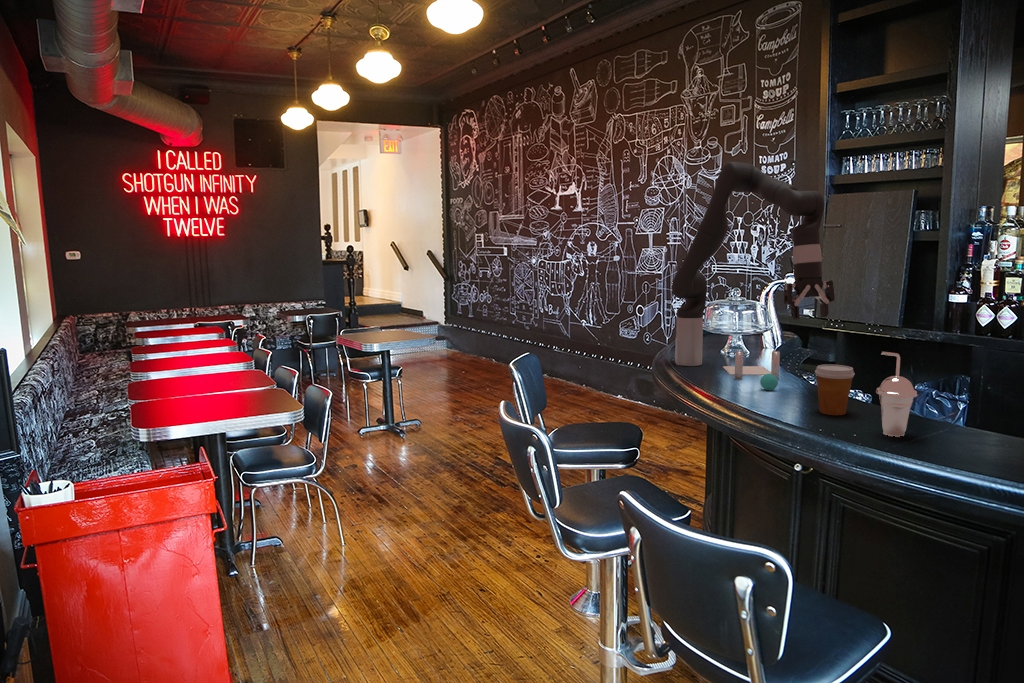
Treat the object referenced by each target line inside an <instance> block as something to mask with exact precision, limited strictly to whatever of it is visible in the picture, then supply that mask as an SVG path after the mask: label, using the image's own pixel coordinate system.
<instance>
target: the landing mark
mask: <svg viewBox="0 0 1024 683" xmlns="http://www.w3.org/2000/svg"><path fill="white" fill-rule="evenodd" d="M722 368H723V369H724V370H725V371H726V372H727V374H729V375H730V376H731V375H732V376H735V365H734V366H733V365H726V366H725V365H724V366H722ZM765 374H771V370H769V369H768V368H766V367H765V366H762V365H761V366H759V365H758V366H756V365H755V366H753V365H750V366H749V365H748V366H746V365H743V374H742V376H746V375H747V376H748V375H749V376H764V375H765Z"/></svg>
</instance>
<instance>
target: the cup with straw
mask: <svg viewBox="0 0 1024 683" xmlns="http://www.w3.org/2000/svg"><path fill="white" fill-rule="evenodd" d="M879 354H880V355H885V356H889V357H890V356H891V357H893V356H894V357H896V367H895V375H891V376H888V377H886V378H885V379H884V380H883V381H882V382H881V384H880V386H879V387H877V388H876V390H875V393H876V394H877V395H878V396H879V403H880V408H881V409H880V410H881V412H880V413H881V425H882V426H881V427H882V430H883V432H882V434H883V435H885V436H887V435H888V437H893V436H895V438H901V437H900V436H903V437H905V436H906V435H905V432H906V430H907V427H908V421H909V417H910V416H909V415H910V412H911V411H910V410H911V407H912V405H913V402H914V398H916V397H918V391H917V390H916V389H914V386H913V383H912V382H911V381H910V380H909V379H907V378H905V377H904V376H900V371H901V370H900V369H901V356H900V354H899V353H897V352H889V351H881V350H880V351H879ZM904 435H905V436H904Z"/></svg>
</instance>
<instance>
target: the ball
mask: <svg viewBox="0 0 1024 683" xmlns="http://www.w3.org/2000/svg"><path fill="white" fill-rule="evenodd" d="M759 383H760V386H761V388H762V389H763V390H767V391H772V390H775V389H776V388H777V387H778V385H779V380H778V379H777V378H776V376H774V375H773V374H765V375H761V378H760V382H759Z"/></svg>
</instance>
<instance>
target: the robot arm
mask: <svg viewBox="0 0 1024 683" xmlns="http://www.w3.org/2000/svg"><path fill="white" fill-rule="evenodd" d="M714 186H715V187H714V189H713V192H712V195H711V198H710V201H709V202H708V206H707V208H706V211H705V213H704V215H703V218H702V220H701V222H700V223H699V226H698V228H697V231H696V233H695V236H694V238H693V241H692V242H691V244H690V247H689V249H688V252H687V253H686V255H685V257H684V259H683V261H682V263H681V264H680V266H679V268H678V270H677V271H676V273H675V276H674V278H673V280H672V284H671V290H672V294H673V295H674V296H675V297H676V298H678V299H686V302H685V303H684V304H683V305H682V306H680V307H678V308H677V310H676V332H675V333H676V334H675V335H676V336H675V341H674V342H675V345H674V346H675V347H674V348H675V349H674V350H675V351H674V363H675V364H676V366H682V367H683V366H685V367H697V366H702V364H703V339H704V338H703V337H704V336H703V334H704V332H703V330H704V312H705V310H706V305H707V304H706V303H707V290H708V289H707V288H708V287H707V286H708V284H707V282H708V281H707V279H706V277H705V275H704V274H703V273H702V272H699V270H700V269H701V267H702V266H703V265H704V264H705V263H706V262H707V261H708V260H709V259H711V257H713V256H714V255H715V254H716V252H718V251H719V249H721V248H720V247H721V246H722V244H723V242H724V240H725V238H726V235H727V233H728V230H729V223H728V222H729V221H728V216H727V204H728V201H729V198H730V196H731V194H732V192H735V193H751V194H752V193H753V194H758V195H760V196H761V197H762V199H764V201H766V202H768V203H769V204H770V203H771V204H772V205H774V206H775V207H776V206H777V207H778V208H780V209H781V210H782V211H783V212H784V213H785V214H787V215H790V216H791V217H804V220H803V221H802V223H801V224H799V225H796V226H794V227H793V229H792V245H793V247H792V248H793V249H792V250H793V251H792V265H793V266H792V267H793V279H794V282H793V283H791V282H789V283H784V284H783V304H784V305H787V306H790V311H791V312H790V314H791V318H793V320H800V306H799V304H800V303H801V301H802V300H803V299H804V298H813V297H814V298H815V299H817V300H818V302H819V303H820V304H819V309H820V312H819V314H820V318H827V317H828V315H829V305H830V304H829V303H831V302H835V300H836V297H835V287H834V281H833V280H824V281H823V278H822V277H823V262H822V261H823V260H822V259H823V258H822V257H823V256H822V249H821V239H820V238H821V237H820V230H821V224H822V220H823V216H824V210H825V199H824V196H823V195H822V193H821V192H819V191H817V190H798V188H797V187H796V186H794V185H793V184H791V183H789V182H785V181H783V180H781V179H778V178H774V177H772V176H770V175H768V174H766V173H765V172H763V171H762V170H760V169H759V168H758V167H756V166H755V165H753V164H751V163H749V162H748V163H747V162H739V161H728V162H726V163H725V164H724V165H723V166H722V168H721V169H720V172H719V174H718V176H717V179H716V182H715V185H714ZM822 288H823V289H824V291H823V289H822ZM794 290H795V292H794V294H793V291H794Z"/></svg>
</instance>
